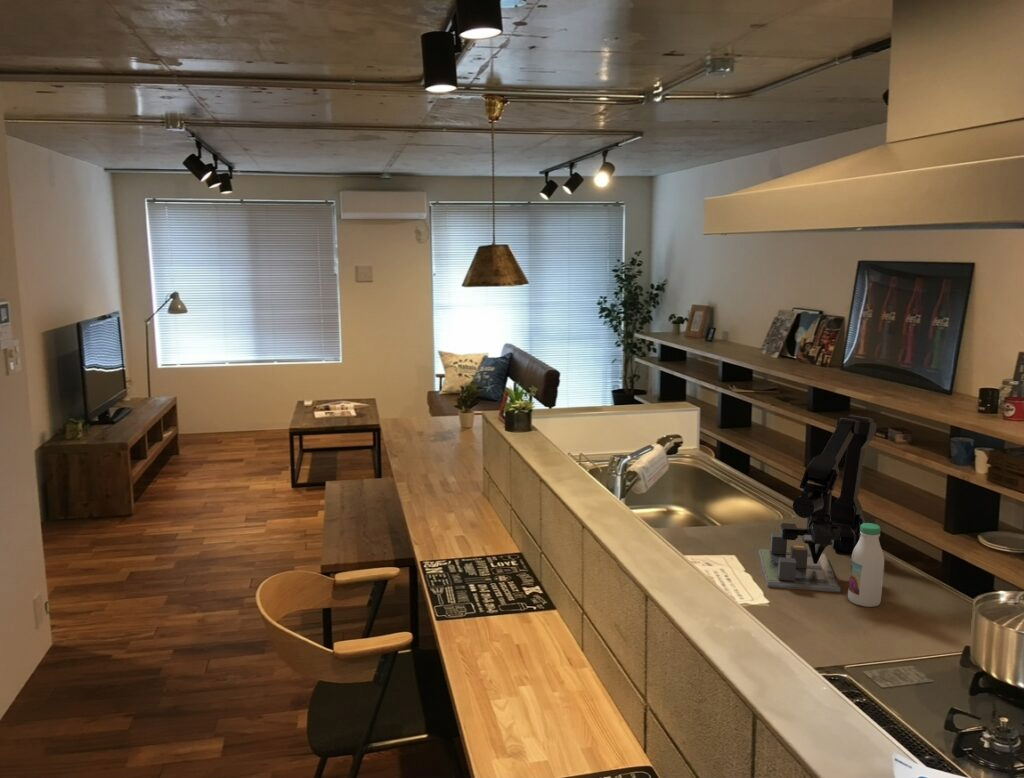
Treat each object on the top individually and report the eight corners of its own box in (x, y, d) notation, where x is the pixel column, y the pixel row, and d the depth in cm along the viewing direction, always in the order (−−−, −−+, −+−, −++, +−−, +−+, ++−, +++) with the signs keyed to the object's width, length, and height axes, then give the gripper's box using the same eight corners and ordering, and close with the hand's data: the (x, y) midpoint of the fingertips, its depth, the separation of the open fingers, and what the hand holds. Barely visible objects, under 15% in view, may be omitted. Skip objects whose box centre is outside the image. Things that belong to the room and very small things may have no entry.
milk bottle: (881, 597, 213) (888, 523, 209) (880, 610, 206) (887, 533, 202) (848, 592, 216) (854, 518, 213) (846, 604, 210) (852, 528, 206)
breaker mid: (804, 564, 230) (806, 546, 229) (806, 568, 227) (807, 550, 226) (789, 562, 231) (790, 545, 230) (791, 567, 228) (792, 549, 227)
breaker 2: (793, 576, 222) (794, 558, 221) (794, 580, 219) (796, 562, 218) (777, 574, 223) (778, 557, 222) (779, 579, 220) (780, 561, 219)
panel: (824, 557, 238) (824, 552, 238) (839, 592, 216) (840, 587, 216) (758, 553, 242) (759, 548, 241) (767, 586, 219) (767, 581, 219)
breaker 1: (784, 550, 240) (785, 533, 239) (786, 554, 237) (787, 537, 236) (770, 549, 240) (771, 532, 239) (771, 553, 237) (772, 536, 236)
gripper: (786, 516, 219) (783, 572, 222) (862, 521, 216) (857, 577, 219) (781, 502, 230) (777, 556, 233) (853, 506, 226) (848, 561, 229)
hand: (814, 563), depth 228 cm, fingers closed
